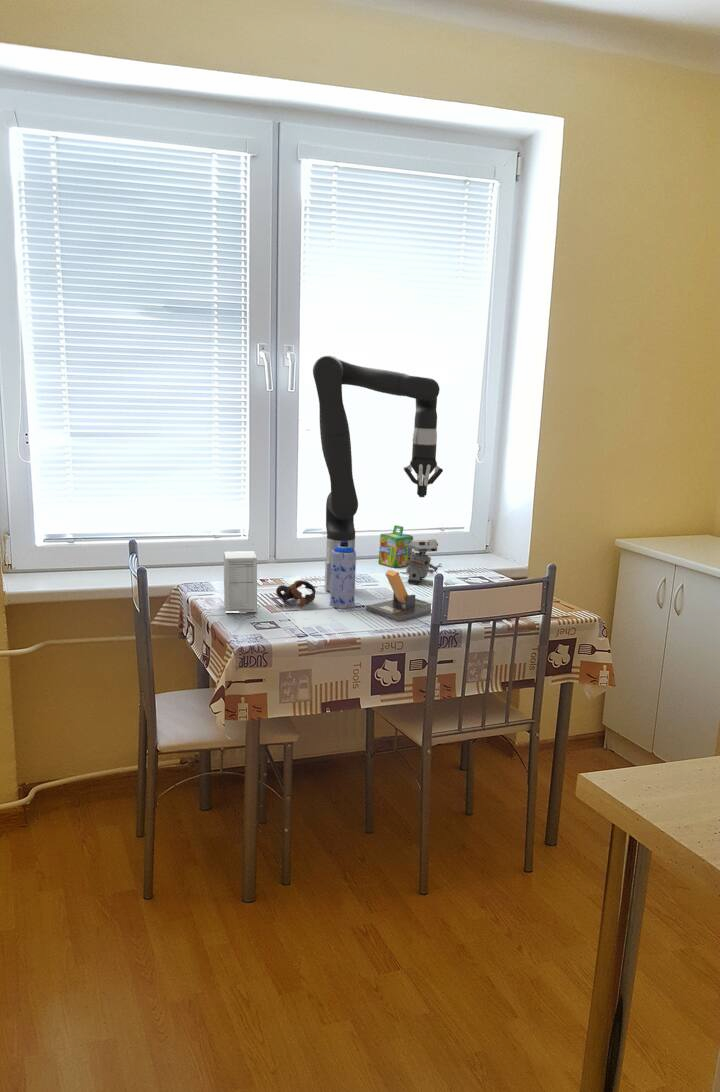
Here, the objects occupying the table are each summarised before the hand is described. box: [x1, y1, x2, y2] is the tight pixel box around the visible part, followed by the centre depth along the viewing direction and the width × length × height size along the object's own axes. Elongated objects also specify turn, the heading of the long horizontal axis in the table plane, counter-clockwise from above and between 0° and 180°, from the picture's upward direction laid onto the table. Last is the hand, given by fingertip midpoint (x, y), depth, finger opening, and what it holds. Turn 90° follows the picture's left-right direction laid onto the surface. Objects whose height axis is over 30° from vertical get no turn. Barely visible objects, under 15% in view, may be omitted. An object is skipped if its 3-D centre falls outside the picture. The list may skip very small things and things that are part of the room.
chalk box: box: [378, 524, 414, 569], centre depth 303 cm, size 9×9×15 cm
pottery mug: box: [275, 579, 317, 609], centre depth 246 cm, size 12×10×8 cm
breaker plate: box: [365, 593, 432, 622], centre depth 243 cm, size 18×14×6 cm
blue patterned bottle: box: [329, 541, 357, 609], centre depth 246 cm, size 8×8×20 cm
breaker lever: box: [384, 569, 409, 605], centre depth 241 cm, size 2×4×12 cm
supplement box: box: [223, 550, 258, 613], centre depth 237 cm, size 10×9×17 cm
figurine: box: [405, 538, 443, 585], centre depth 278 cm, size 9×12×15 cm
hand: (421, 496), depth 258 cm, fingers closed
